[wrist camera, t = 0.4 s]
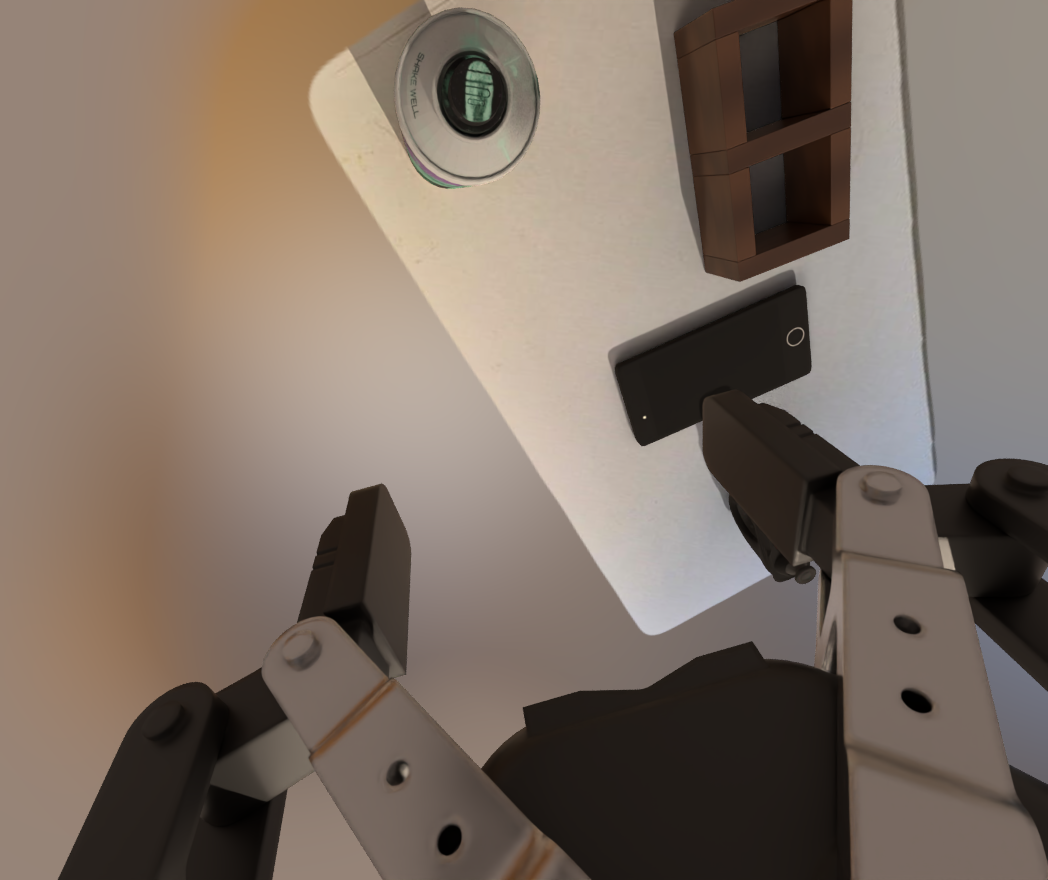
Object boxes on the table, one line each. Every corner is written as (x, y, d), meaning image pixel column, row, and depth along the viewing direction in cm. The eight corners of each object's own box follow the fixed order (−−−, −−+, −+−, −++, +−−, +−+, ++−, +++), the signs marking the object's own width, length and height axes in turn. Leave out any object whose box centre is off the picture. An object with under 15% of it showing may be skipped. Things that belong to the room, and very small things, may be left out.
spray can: (462, 78, 31) (514, -64, 14) (500, 165, 34) (584, 136, 17) (389, 120, 32) (352, 32, 14) (433, 203, 34) (446, 214, 17)
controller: (731, 539, 56) (789, 604, 47) (709, 458, 50) (771, 515, 41) (765, 523, 56) (830, 585, 47) (747, 440, 50) (818, 493, 41)
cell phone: (805, 369, 47) (812, 372, 46) (636, 443, 47) (640, 448, 46) (798, 282, 42) (806, 284, 42) (612, 364, 43) (616, 368, 42)
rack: (673, 32, 33) (712, 8, 28) (795, -15, 33) (853, -47, 28) (705, 272, 41) (739, 282, 36) (803, 233, 41) (849, 238, 36)
